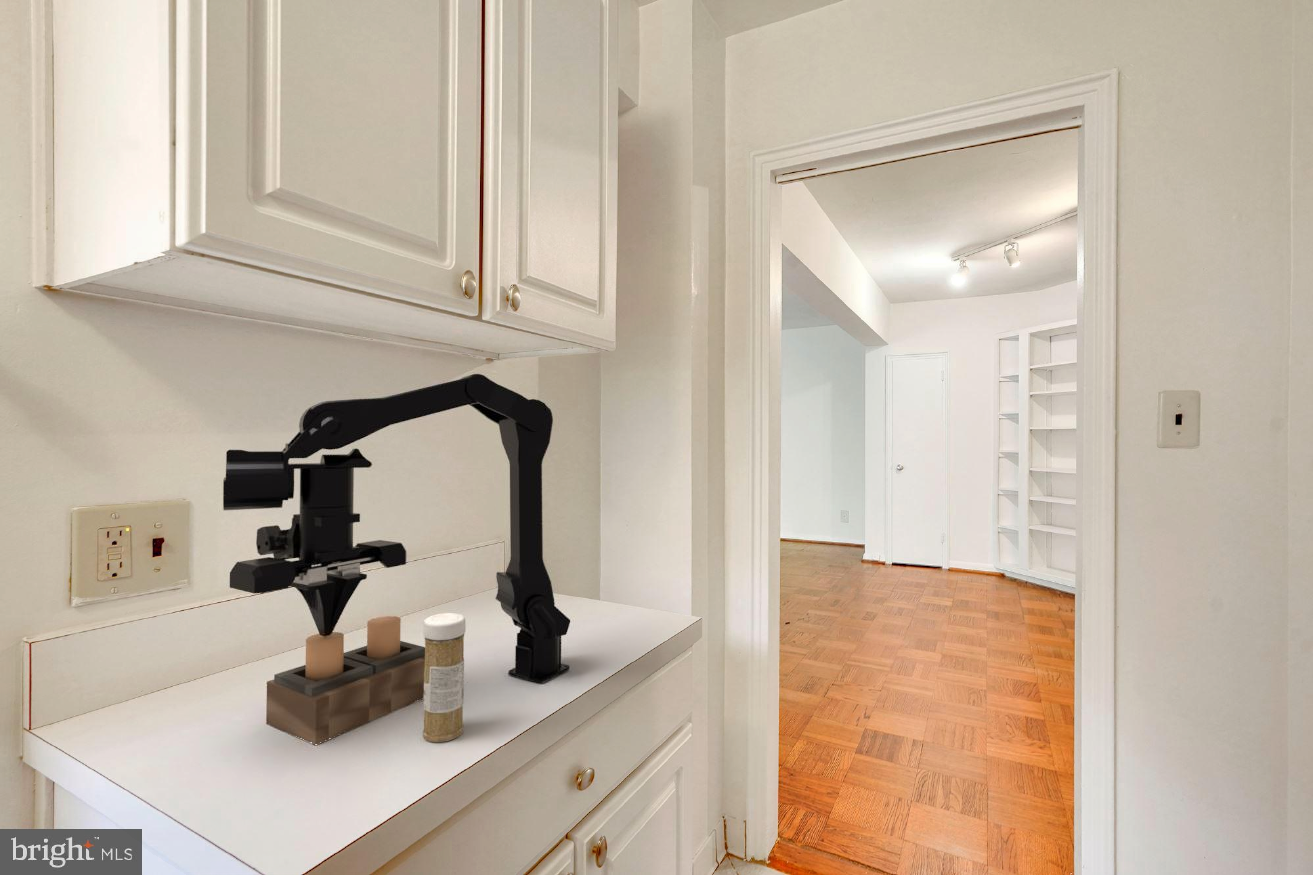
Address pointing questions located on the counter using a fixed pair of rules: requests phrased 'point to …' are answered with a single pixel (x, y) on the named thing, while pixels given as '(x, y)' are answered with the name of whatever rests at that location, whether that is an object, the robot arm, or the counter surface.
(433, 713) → the sprinkles bottle
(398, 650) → the peg
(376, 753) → the counter surface
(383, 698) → the socket block
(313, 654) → the peg
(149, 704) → the counter surface
